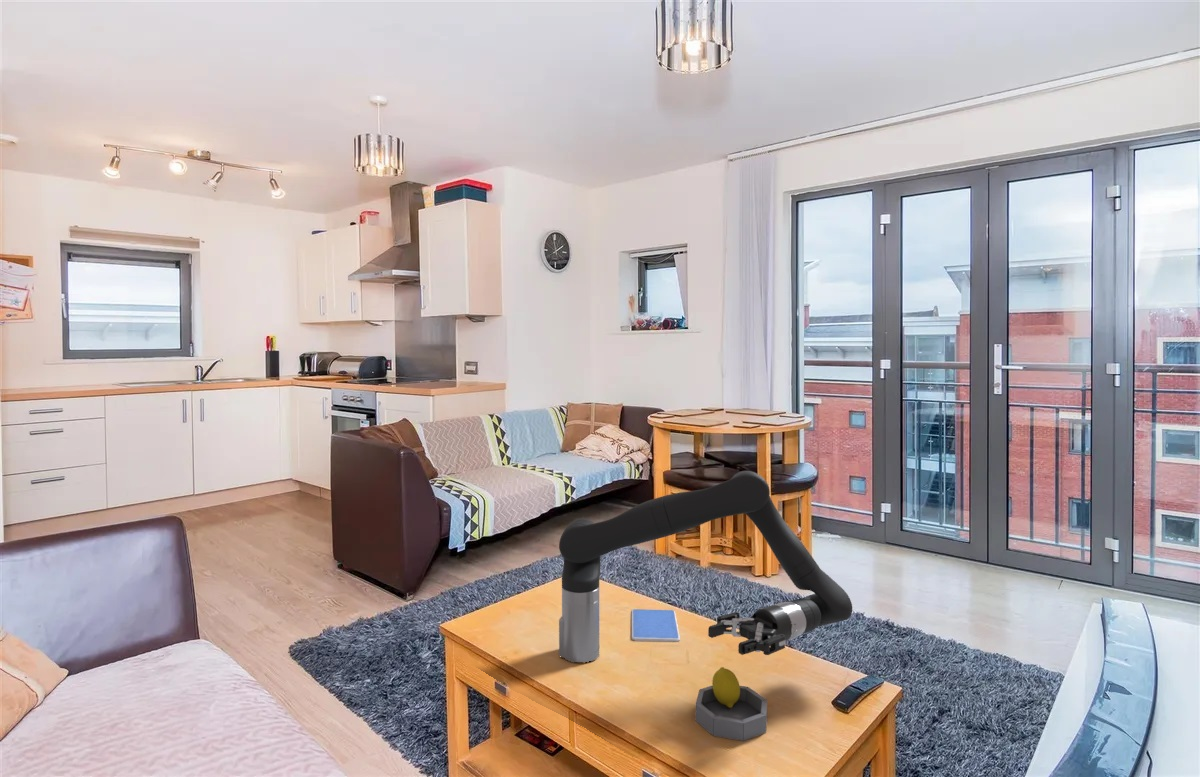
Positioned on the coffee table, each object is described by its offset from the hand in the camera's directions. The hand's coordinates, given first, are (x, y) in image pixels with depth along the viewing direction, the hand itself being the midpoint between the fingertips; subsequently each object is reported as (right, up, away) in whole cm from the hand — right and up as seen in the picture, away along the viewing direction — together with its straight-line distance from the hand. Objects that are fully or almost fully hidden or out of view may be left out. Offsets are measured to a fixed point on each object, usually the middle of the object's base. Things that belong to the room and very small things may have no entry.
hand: (724, 640), depth 125 cm
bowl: (+2, -17, +2) cm, 17 cm away
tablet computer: (-10, -15, +46) cm, 50 cm away
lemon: (+2, -15, +2) cm, 15 cm away
